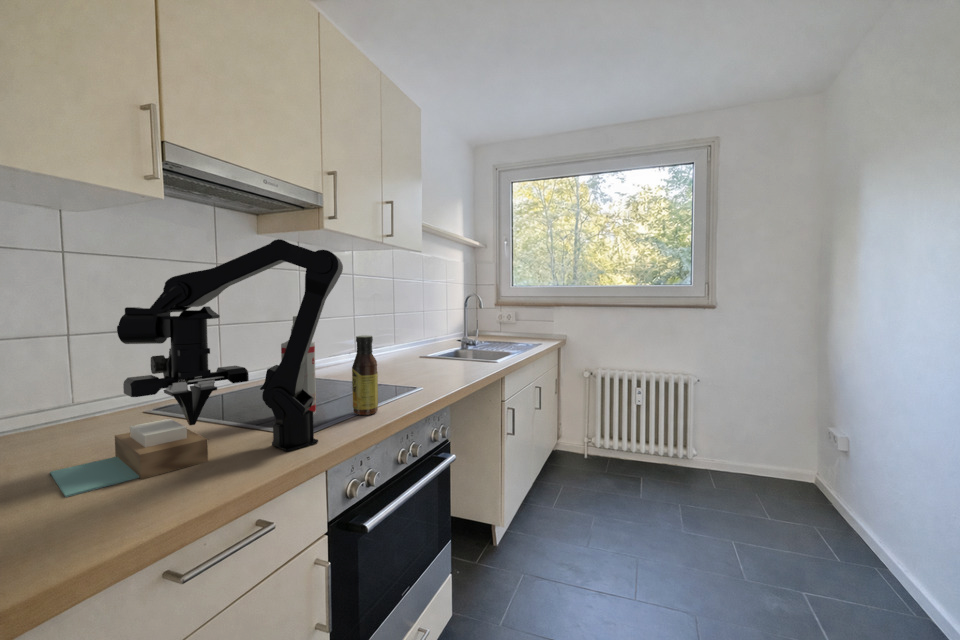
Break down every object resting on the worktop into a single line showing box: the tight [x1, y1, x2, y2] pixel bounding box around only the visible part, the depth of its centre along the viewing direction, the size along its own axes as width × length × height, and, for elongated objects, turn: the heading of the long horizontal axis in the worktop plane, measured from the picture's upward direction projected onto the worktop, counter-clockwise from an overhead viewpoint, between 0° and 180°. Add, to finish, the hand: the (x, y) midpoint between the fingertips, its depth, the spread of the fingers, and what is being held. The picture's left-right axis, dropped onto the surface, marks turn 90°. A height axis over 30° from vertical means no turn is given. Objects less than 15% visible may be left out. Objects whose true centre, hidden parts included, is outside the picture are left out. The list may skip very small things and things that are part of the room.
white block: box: [129, 418, 188, 447], centre depth 74 cm, size 6×9×2 cm, turn 52°
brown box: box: [114, 428, 209, 480], centre depth 75 cm, size 10×16×4 cm, turn 52°
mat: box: [49, 456, 140, 498], centre depth 68 cm, size 9×14×1 cm, turn 52°
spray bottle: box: [280, 315, 317, 416], centre depth 104 cm, size 8×8×25 cm
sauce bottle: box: [351, 334, 379, 416], centre depth 105 cm, size 6×6×20 cm
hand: (191, 424), depth 79 cm, fingers closed
